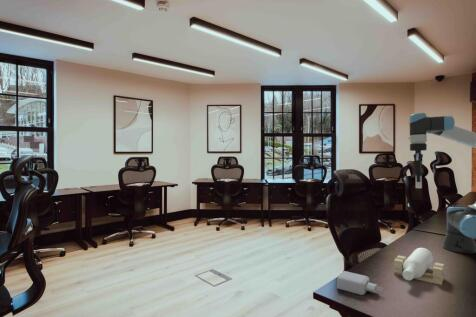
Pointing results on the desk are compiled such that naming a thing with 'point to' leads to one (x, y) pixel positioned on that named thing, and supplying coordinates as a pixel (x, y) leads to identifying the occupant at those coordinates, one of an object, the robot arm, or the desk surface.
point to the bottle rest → (428, 277)
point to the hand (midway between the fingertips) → (418, 188)
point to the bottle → (417, 263)
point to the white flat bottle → (355, 283)
